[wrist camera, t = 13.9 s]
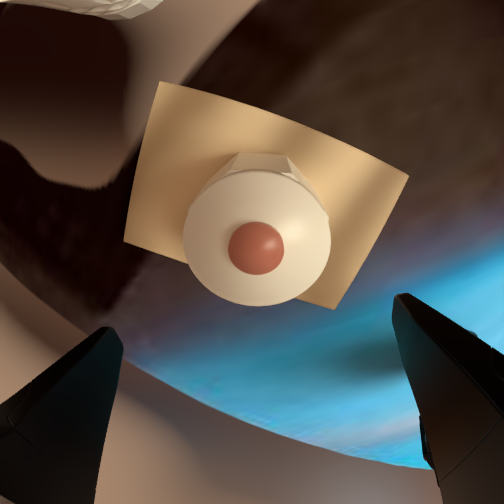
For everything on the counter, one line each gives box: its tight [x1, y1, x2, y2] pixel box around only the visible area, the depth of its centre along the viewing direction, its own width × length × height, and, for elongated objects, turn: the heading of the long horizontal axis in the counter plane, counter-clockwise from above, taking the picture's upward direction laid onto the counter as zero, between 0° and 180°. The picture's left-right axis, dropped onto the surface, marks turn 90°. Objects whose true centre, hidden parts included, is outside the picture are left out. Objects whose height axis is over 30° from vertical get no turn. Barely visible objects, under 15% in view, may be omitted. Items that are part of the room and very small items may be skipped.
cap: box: [183, 152, 331, 306], centre depth 15 cm, size 7×7×6 cm
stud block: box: [124, 81, 409, 310], centre depth 17 cm, size 16×11×5 cm
